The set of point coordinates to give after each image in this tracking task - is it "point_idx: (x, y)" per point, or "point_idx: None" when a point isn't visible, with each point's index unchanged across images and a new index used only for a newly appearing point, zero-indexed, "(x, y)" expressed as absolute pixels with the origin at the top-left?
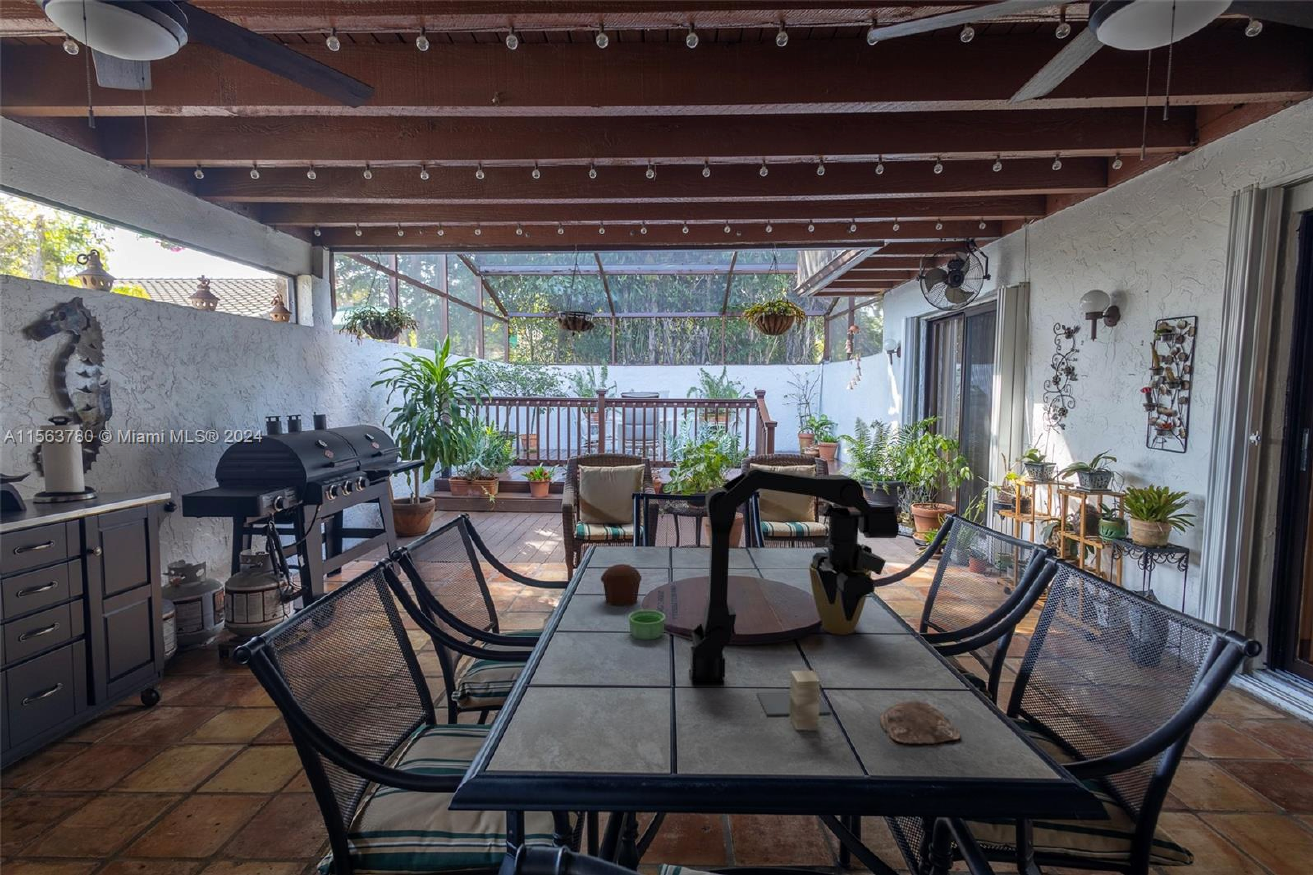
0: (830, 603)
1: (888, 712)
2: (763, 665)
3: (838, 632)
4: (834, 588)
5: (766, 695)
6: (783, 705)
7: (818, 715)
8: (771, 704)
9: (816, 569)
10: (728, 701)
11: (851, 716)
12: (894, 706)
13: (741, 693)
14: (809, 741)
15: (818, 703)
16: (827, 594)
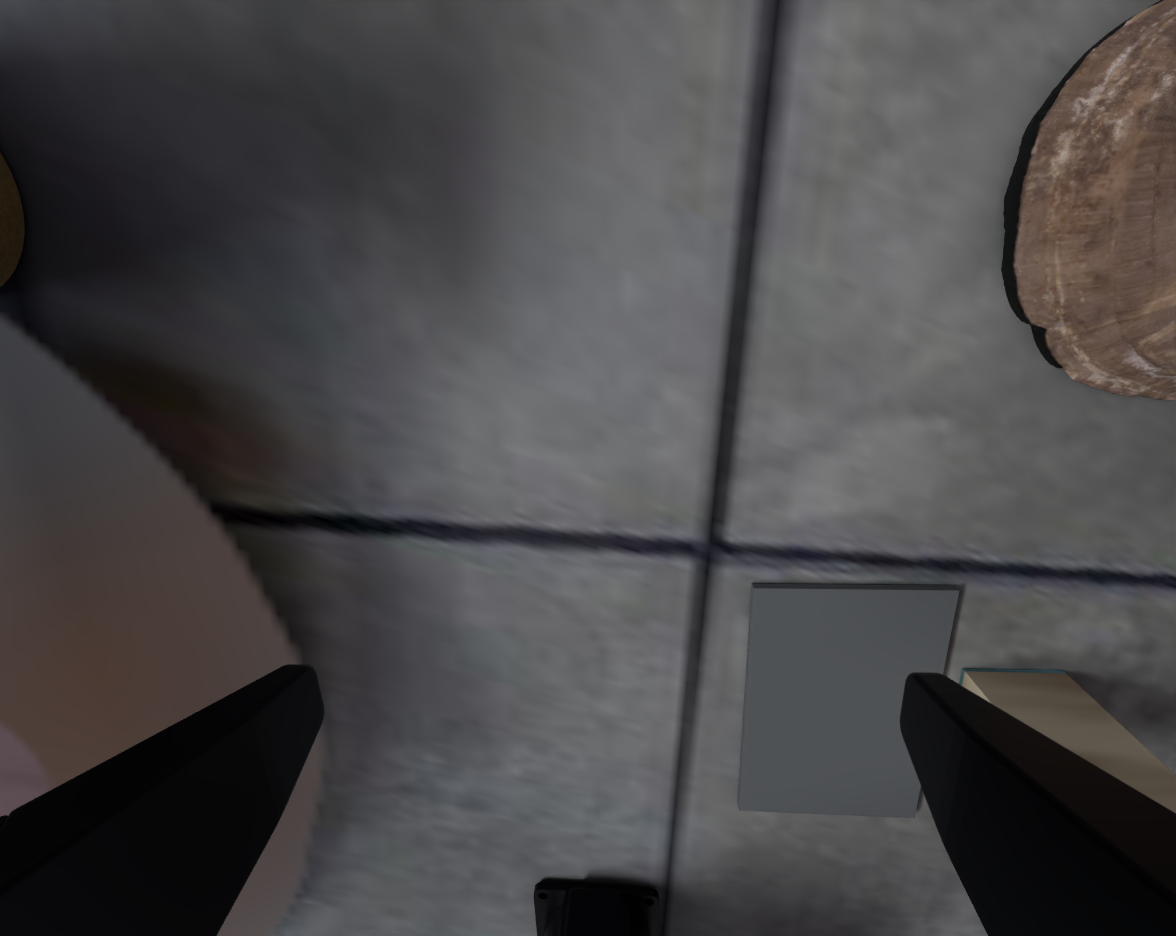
0: (317, 714)
1: (1171, 360)
2: (478, 720)
3: (14, 228)
4: (115, 876)
5: (770, 785)
6: (862, 749)
7: (1112, 718)
8: (844, 785)
9: None
10: (777, 893)
11: (995, 501)
12: (1142, 301)
13: (722, 845)
14: (1130, 723)
15: (1163, 768)
16: (246, 870)
